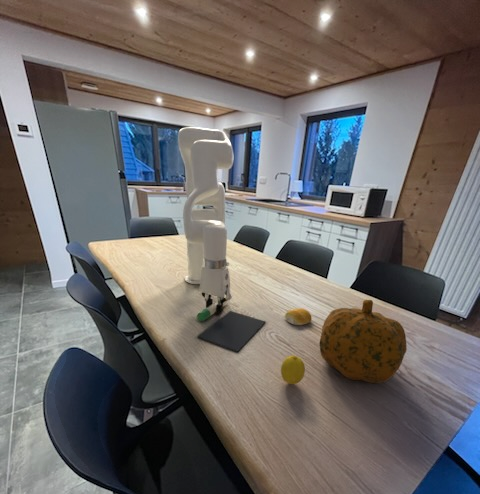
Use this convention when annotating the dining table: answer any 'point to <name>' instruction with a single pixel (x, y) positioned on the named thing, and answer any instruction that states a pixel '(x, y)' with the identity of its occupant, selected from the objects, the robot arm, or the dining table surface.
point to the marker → (208, 311)
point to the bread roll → (298, 316)
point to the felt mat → (232, 331)
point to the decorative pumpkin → (363, 343)
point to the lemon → (292, 369)
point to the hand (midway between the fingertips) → (214, 311)
